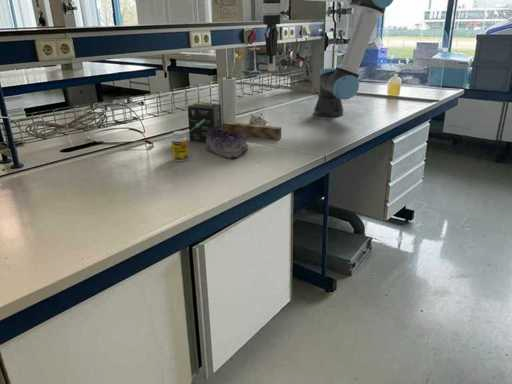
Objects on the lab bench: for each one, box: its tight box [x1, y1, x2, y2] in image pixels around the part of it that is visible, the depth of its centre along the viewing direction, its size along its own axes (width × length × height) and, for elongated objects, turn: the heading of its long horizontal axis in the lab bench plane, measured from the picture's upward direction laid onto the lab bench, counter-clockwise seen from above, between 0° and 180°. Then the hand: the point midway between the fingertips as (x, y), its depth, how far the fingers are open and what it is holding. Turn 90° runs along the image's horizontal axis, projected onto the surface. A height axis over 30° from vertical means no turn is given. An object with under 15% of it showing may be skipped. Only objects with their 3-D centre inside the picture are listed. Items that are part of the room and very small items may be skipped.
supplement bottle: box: [171, 130, 189, 163], centre depth 151 cm, size 6×6×10 cm
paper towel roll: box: [217, 76, 237, 123], centre depth 196 cm, size 7×6×21 cm
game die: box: [248, 113, 269, 126], centre depth 185 cm, size 9×8×10 cm
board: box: [222, 122, 282, 142], centre depth 179 cm, size 26×3×5 cm, turn 69°
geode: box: [205, 125, 249, 160], centre depth 159 cm, size 20×12×10 cm, turn 47°
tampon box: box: [187, 102, 222, 144], centre depth 173 cm, size 11×9×15 cm
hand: (271, 70), depth 191 cm, fingers closed
